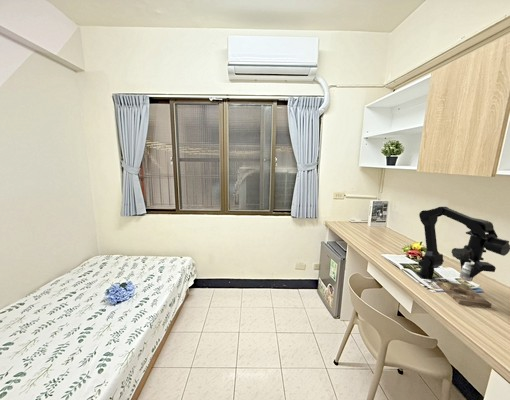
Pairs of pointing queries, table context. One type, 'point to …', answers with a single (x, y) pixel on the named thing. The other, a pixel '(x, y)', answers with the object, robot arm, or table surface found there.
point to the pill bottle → (466, 272)
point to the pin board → (471, 295)
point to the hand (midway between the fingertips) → (467, 274)
